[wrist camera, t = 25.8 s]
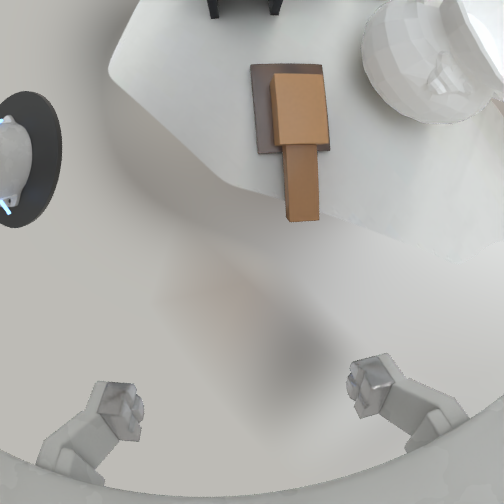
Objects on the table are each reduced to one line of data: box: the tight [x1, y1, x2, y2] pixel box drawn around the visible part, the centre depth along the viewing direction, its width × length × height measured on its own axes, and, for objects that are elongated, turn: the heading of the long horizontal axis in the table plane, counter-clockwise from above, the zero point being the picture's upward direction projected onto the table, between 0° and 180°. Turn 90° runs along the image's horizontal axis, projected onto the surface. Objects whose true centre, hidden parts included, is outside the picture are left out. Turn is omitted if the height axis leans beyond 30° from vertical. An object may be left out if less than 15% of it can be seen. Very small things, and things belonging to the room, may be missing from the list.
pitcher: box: [361, 0, 504, 124], centre depth 21 cm, size 19×18×25 cm
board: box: [250, 64, 330, 154], centre depth 34 cm, size 10×13×2 cm
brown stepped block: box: [270, 73, 329, 222], centre depth 33 cm, size 6×19×5 cm, turn 4°
